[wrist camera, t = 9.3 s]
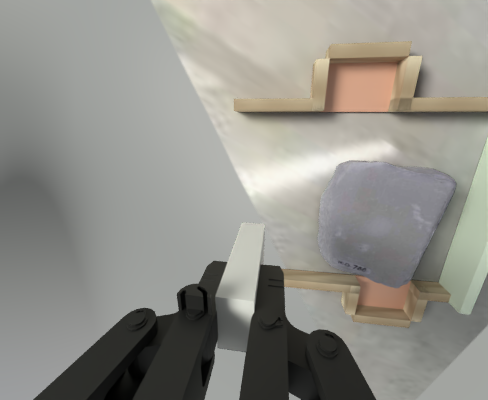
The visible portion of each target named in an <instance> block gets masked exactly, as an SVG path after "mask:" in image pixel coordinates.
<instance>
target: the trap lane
mask: <svg viewBox="0 0 488 400" xmlns="http://www.w3.org/2000/svg"><path fill="white" fill-rule="evenodd" d="M411 43H412V41H408V42H380V43H352V44H331V45H330V47H329V48H328V50H327V51H326V58H325V59H317V60H316V61H315V63H314V65H313V75H312V86H311V97H310V98H302V99H234V111H236V112H488V97H449V98H413V96H414V92H415V88H416V83H417V79H418V74H419V70H420V65H421V61H422V57H423V56H409V53H410V48H411ZM282 271H283V272H284V287H293V288H303V289H313V290H324V291H334V292H343V293H342V299H341V303H342V305H343V308H344V311H345V313H346V314H350V315H351V317H352V319H353V322H360V323H369V324H378V325H387V326H396V327H405V328H409V326H410V323H411V321H415V322H421V320H422V317H423V314H424V311H425V308H426V305H427V302H428V301H438V302H448V303H449V304H450V305H451V306H452V307H453V308H454V309H455V310H456V311H457V312H458V313H459V314H468V315H470V314H471V312H472V309H473V307H474V304H475V302H476V300H477V297H478V295H479V293H480V290H481V288H482V285H483V283H484V281H485V278H486V276H487V273H488V138H487V141H486V144H485V146H484V149H483V152H482V155H481V158H480V161H479V164H478V167H477V170H476V173H475V176H474V179H473V182H472V185H471V188H470V191H469V194H468V197H467V199H466V202H465V205H464V208H463V211H462V214H461V217H460V220H459V223H458V226H457V229H456V232H455V235H454V238H453V241H452V244H451V247H450V249H449V252H448V255H447V258H446V261H445V264H444V267H443V270H442V273H441V276H440V279H439V282H429V281H418V280H410V282H409V283H408V284H405V285H402V286H400V288H393V287H388V286H385V285H383V284H381V283H376V282H374V281H372V280H370V279H368V278H366V277H364V276H360V275H348V274H336V273H325V272H313V271H302V270H290V269H282Z"/></svg>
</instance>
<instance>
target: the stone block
mask: <svg viewBox="0 0 488 400" xmlns="http://www.w3.org/2000/svg"><path fill="white" fill-rule="evenodd" d="M455 189H456V182H455V180H454V179H453V178H451V177H450V176H449V175H447V174H445V173H442V172H440V171H437V170H435V169H431V168H422V167H396V166H394V165H391V164H389V163H387V162H377V161H373V162H367V161H347V162H344V163H341V164H339V165H338V166H337V167H336V170H335V172H334V175H333V177H332V179H331V180H330V181H329V183H328V187H327V188H326V189H325V191H324V193H323V195H322V196H321V201H320V208H319V233H318V237H317V239H318V246H319V249H320V253H321V255H322V256H323V258H324V259H325V260H326V261H327V262H328V263H329V265H330V266H332V267H334V268H336V269H339V270H342V271H346V272H350V273H355V274H359V275H362V276H364V277H366V278H368V279H370V280H372V281H374V282H376V283H381V284H383V285H385V286H388V287H393V288H400V286H402V285H405V284H408V283H409V282H410V280H411V279H412V277H413V275H414V273H415V271H416V269H417V267H418V265H419V263H420V259H421V257H422V256H423V254H424V252H425V250H426V249H427V246H428V244H429V242H430V240H431V238H432V236H433V234H434V232H435V230H436V229H437V226H438V224H439V222H440V220H441V218H442V216H443V214H444V212H445V210H446V208H447V206H448V204H449V202H450V200H451V198H452V196H453V194H454V192H455Z"/></svg>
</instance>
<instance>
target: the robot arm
mask: <svg viewBox="0 0 488 400" xmlns="http://www.w3.org/2000/svg"><path fill="white" fill-rule="evenodd" d="M264 235H265V224H254V223H242V224H241V226H240V229H239V232H238V235H237V238H236V240H235V243H234V246H233V249H232V251H231V254H230V257H229V260H228V262H221V261H213V262H212V263H211V264H209V265H208V266H207V268H206V270H205V272H204V274H203V276H202V278H201V280H200V282H199V284H191V285H188V286H185V287H184V288H182V289H181V290H180V291H179V292H178V293H177V299H178V307H179V311H178V312H177V313H174V314H170V315H163V316H157V317H156V314H155V312H154V311H153V310H152V309H148V308H140V309H136V310H134V311H132V312H130V313H128V314H127V315H126V316H124V317H123V318H122V319H121V320H120V321H119V322H118V323H117V324H116V325H114V326H113V327H112V328H111V329H110V330H109V331H108V332H107V333H106V334H105V335H103V336H102V337H101V338H100V339H99V340H98V341H97V342H96V343H95V344H94V345H93V346H91V348H89V349H88V350H87V351H86V352H85V353H84V354H83V355H82V356H81V357H79V358H78V359H77V360H76V361H75V362H74V363H73V364H72V365H71V366H70V367H69V368H68V369H66V370H65V371H64V372H63V373H62V374H61V375H60V376H59V377H58V378H56V379H55V380H54V381H53V382H52V383H51V384H50V385H49V386H48V387H47V388H46V389H45V390H43V391H42V392H41V393H40V394H39V395H38V396H37V397H36V398H35V399H34V400H204V399H205V395H206V391H207V388H208V384H209V380H210V376H211V372H212V369H213V365H214V359H215V354H214V350H215V347H216V343H217V342H218V348H220V349H227V350H234V351H241V352H246V357H245V364H244V371H243V378H242V384H241V391H240V398H239V400H289V393H291V394H293V395H295V396H296V397H298V398H300V399H301V400H376V398H375V397H374V395H373V393H372V391H371V389H370V387H369V386H368V384H367V382H366V380H365V378H364V376H363V375H362V373H361V371H360V369H359V367H358V365H357V364H356V362H355V360H354V358H353V356H352V355H351V353H350V351H349V349H348V347H347V345H346V344H345V343H344V341H343V340H342V339H341V338H340V337H339V336H337V335H336V334H335V333H333V332H330V331H328V330H320V329H319V330H316V331H313V332H312V333H311V334H307V333H305V332H303V331H300V330H299V329H297V328H295V327H293V326H292V325H291V324H290V322H289V321H288V320H287V318H286V315H285V298H284V272H283V271H282V269H281V268H280V266H272V265H263V261H264Z"/></svg>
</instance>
